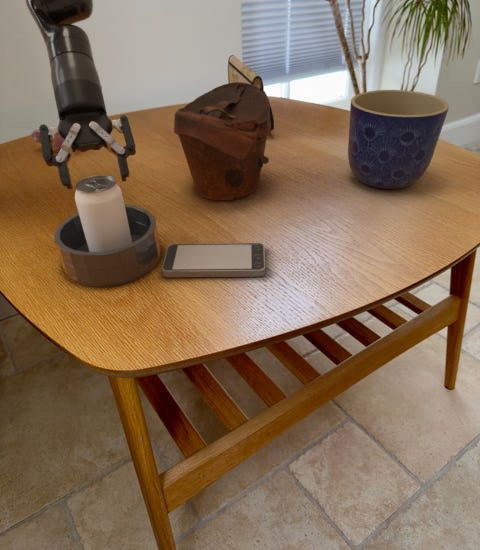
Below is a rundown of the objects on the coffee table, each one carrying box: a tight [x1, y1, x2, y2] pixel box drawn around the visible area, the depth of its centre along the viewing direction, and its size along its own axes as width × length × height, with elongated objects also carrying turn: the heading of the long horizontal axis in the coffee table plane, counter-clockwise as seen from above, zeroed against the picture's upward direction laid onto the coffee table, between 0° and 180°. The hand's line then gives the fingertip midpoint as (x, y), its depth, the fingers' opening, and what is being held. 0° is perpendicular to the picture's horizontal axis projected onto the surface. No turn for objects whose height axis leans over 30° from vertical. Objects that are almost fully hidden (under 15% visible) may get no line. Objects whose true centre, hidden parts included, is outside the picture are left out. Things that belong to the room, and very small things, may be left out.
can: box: [74, 174, 132, 252], centre depth 64 cm, size 6×6×12 cm
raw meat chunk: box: [30, 126, 64, 154], centre depth 104 cm, size 10×5×7 cm, turn 55°
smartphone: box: [161, 242, 266, 278], centre depth 65 cm, size 7×1×15 cm
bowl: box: [53, 203, 162, 288], centre depth 66 cm, size 15×15×6 cm
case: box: [173, 82, 272, 201], centre depth 81 cm, size 18×20×18 cm
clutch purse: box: [227, 54, 275, 132], centre depth 114 cm, size 30×7×15 cm, turn 14°
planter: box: [347, 89, 450, 190], centre depth 83 cm, size 17×17×15 cm
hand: (97, 183), depth 69 cm, fingers open, 8 cm apart
